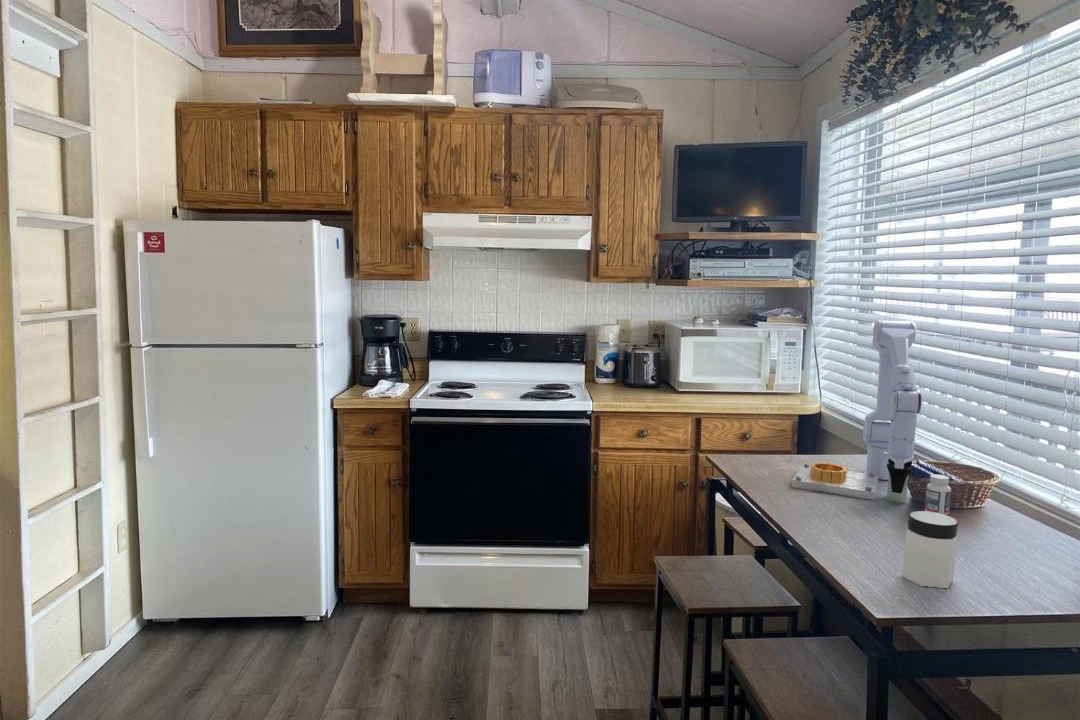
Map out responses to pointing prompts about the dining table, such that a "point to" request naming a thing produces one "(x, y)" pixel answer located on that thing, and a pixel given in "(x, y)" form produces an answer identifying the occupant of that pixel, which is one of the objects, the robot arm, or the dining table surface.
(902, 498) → the mint green square pillar
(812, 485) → the bolted plate with ring
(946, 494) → the pill bottle
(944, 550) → the jar
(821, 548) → the dining table surface
